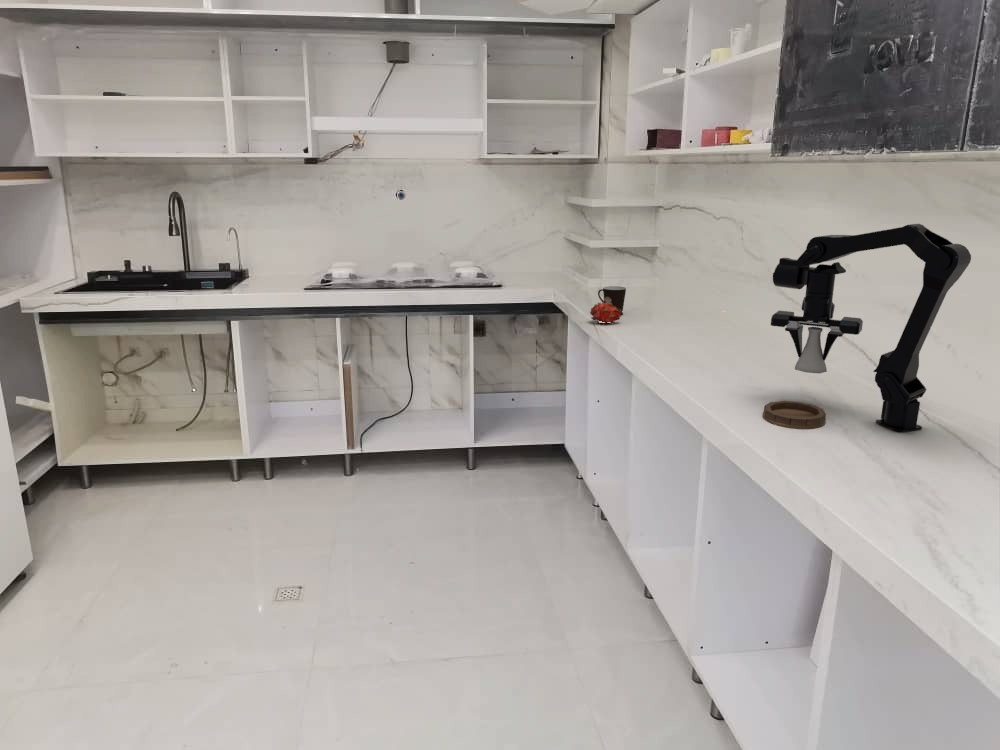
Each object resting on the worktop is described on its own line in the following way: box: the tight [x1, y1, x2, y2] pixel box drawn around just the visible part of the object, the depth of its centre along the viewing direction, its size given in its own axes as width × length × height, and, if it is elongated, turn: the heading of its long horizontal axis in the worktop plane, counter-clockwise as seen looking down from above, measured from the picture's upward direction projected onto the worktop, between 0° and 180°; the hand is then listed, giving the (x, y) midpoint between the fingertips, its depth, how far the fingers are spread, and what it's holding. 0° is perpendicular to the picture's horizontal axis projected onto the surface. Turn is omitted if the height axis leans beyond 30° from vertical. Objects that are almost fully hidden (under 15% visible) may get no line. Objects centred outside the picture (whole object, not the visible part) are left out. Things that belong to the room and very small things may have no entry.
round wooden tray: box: [762, 400, 827, 430], centre depth 161 cm, size 13×13×2 cm
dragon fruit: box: [589, 302, 624, 323], centre depth 258 cm, size 8×8×12 cm
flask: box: [794, 326, 828, 374], centre depth 168 cm, size 7×7×10 cm
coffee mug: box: [597, 285, 627, 311], centre depth 276 cm, size 12×9×10 cm
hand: (811, 358), depth 168 cm, fingers closed on flask, 5 cm apart
